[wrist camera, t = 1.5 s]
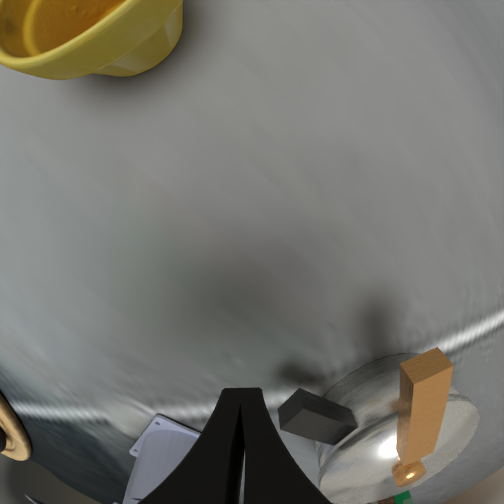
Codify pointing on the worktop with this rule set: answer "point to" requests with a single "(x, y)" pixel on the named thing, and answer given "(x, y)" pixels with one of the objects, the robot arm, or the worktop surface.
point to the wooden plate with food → (12, 434)
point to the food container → (396, 499)
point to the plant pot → (87, 36)
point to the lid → (403, 437)
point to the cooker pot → (346, 405)
